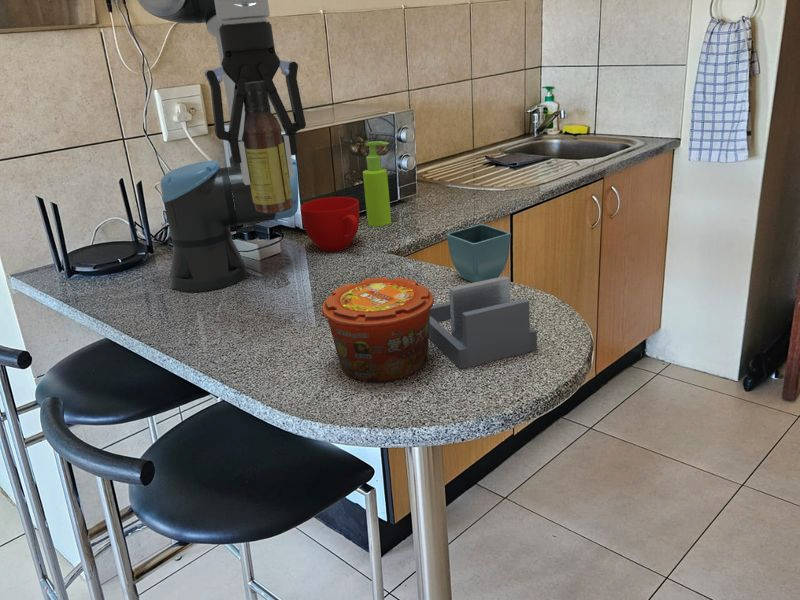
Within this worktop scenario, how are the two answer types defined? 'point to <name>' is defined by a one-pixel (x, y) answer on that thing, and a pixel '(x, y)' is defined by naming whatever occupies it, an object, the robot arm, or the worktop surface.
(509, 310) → the frame
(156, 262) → the worktop surface
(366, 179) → the soap dispenser
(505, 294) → the bar
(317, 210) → the ceramic cup
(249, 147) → the sauce bottle
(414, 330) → the food container
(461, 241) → the flower pot
